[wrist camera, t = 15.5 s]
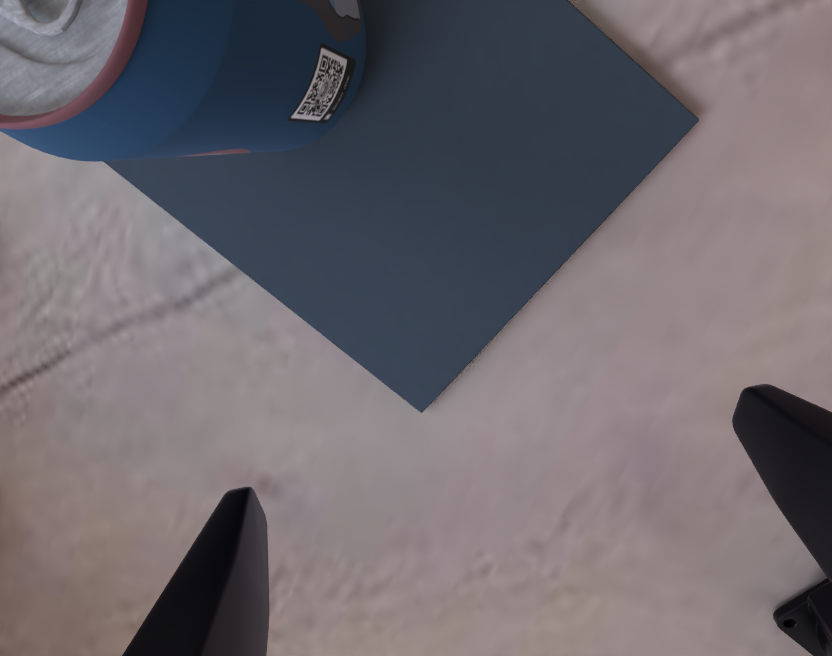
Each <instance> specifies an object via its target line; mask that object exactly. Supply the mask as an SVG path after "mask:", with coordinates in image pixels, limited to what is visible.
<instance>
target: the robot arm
mask: <svg viewBox="0 0 832 656" xmlns="http://www.w3.org/2000/svg"><path fill="white" fill-rule="evenodd" d="M732 423H733V428H734V431H735V433H736V435H737V436H738V438H739V440H740V442H741V443H742V445H743V447H744V449H745V450H746V452H747V454H748V456H749V457H750V459H751V461H752V463H753V465H754V466H755V468H756V470H757V472H758V473H759V475H760V477H761V479H762V480H763V482H764V484H765V486H766V487H767V489H768V491H769V493H770V494H771V496H772V498H773V499H774V501H775V503H776V504H777V506H778V507H779V509H780V510H781V512H782V513H783V515H784V516H785V518H786V519H787V520H788V522H789V523H790V525H791V526H792V527H793V529H794V530H795V532H796V533H797V535H798V536H799V537H800V539H801V540H802V542H803V543H804V544H805V546H806V547H807V549H808V550H809V551H810V553H811V554H812V556H813V557H814V559H815V560H816V561H817V563H818V564H819V566H820V567H821V568H822V570H823V571H824V573H825V574H826V576H827V577H828V579H826V580H825V581H823V582H821V583H820V584H818V585H816V586H815V587H813V588H811V589H810V590H808V591H807V592H805V593H803V594H802V595H800V596H798V597H797V598H795V599H793V600H792V601H790V602H788V603H787V604H785V605H783V606H782V607H780V608H778V609H777V610H776V611H775V612H774V614H773V618H774V620H775V622H776V624H777V625H778V627H779V628H780V629H781V630H782V631H783V632H785V633H786V634H787V635H788V636H790V637H791V638H792V639H793V640H795V641H796V642H797V643H798V644H799V645H801V646H802V647H803V648H804V649H806V650H807V651H808V652H809V653H811V654H812V655H813V656H832V412H830V411H828V410H826V409H823V408H821V407H819V406H817V405H815V404H812V403H810V402H808V401H806V400H803V399H801V398H799V397H797V396H795V395H792V394H790V393H788V392H786V391H783V390H781V389H779V388H777V387H775V386H772V385H769V384H761V385H756V386H751V387H747V388H745V389H744V390H743V391H742V392H741V395H740V398H739V401H738V403H737V406H736V409H735V412H734V415H733V418H732ZM786 619H788V620H786ZM268 629H269V576H268V540H267V521H266V517H265V514H264V511H263V509H262V507H261V505H260V502H259V500H258V498H257V496H256V494H255V492H254V490H253V489H252V488H251V487H243V488H238V489H233V490H230V491H228V492H227V493H226V494H225V495H224V496H223V498H222V499H221V501H220V502H219V504H218V506H217V507H216V509H215V510H214V512H213V513H212V515H211V517H210V518H209V520H208V521H207V523H206V524H205V526H204V528H203V529H202V531H201V532H200V534H199V535H198V537H197V539H196V540H195V542H194V543H193V545H192V547H191V548H190V550H189V551H188V553H187V554H186V556H185V558H184V559H183V561H182V562H181V564H180V565H179V567H178V569H177V570H176V572H175V573H174V575H173V576H172V578H171V580H170V581H169V583H168V584H167V586H166V587H165V589H164V591H163V592H162V594H161V595H160V597H159V599H158V600H157V602H156V603H155V605H154V606H153V608H152V610H151V611H150V613H149V614H148V616H147V617H146V619H145V621H144V622H143V624H142V625H141V627H140V628H139V630H138V632H137V633H136V635H135V636H134V638H133V640H132V641H131V643H130V644H129V646H128V647H127V649H126V651H125V652H124V654H123V655H122V656H266V652H267V641H268Z"/></svg>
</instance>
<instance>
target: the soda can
mask: <svg viewBox="0 0 832 656" xmlns="http://www.w3.org/2000/svg"><path fill="white" fill-rule="evenodd" d="M365 57H366V29H365V21H364V16H363V11H362V7H361V3H360V0H0V131H1V132H3V133H5V134H7V135H9V136H10V137H12V138H14V139H16V140H18V141H20V142H22V143H24V144H26V145H28V146H30V147H32V148H35V149H37V150H40V151H43V152H45V153H48V154H52V155H55V156H58V157H63V158H67V159H72V160H80V161H113V160H131V159H149V158H167V157H185V156H203V155H221V154H239V153H257V152H275V151H287V150H292V149H296V148H299V147H302V146H305V145H307V144H310V143H312V142H313V141H315V140H317V139H319V138H320V137H322V136H323V135H324V134H326V133H327V132H328V131H330V130H331V129H332V128H333V127H334V126H335V125H336V124H337V123H338V121H339V120H340V119H341V118H342V117H343V115H344V114H345V113H346V111H347V110H348V108H349V106H350V105H351V103H352V101H353V99H354V97H355V95H356V93H357V90H358V87H359V85H360V82H361V78H362V74H363V70H364V65H365Z"/></svg>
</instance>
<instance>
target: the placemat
mask: <svg viewBox="0 0 832 656" xmlns="http://www.w3.org/2000/svg"><path fill="white" fill-rule="evenodd" d="M360 3H361V7H362V11H363V16H364V21H365V29H366V57H365V65H364V70H363V74H362V78H361V82H360V85H359V87H358V90H357V93H356V95H355V97H354V99H353V101H352V103H351V105H350V106H349V108H348V110H347V111H346V113H345V114H344V115H343V117H342V118H341V119H340V120H339V121H338V123H337V124H336V125H335V126H334V127H333V128H332V129H331V130H330V131H328V132H327V133H326V134H324V135H323V136H322V137H320V138H319V139H317V140H315V141H313V142H312V143H310V144H307V145H305V146H302V147H299V148H296V149H292V150H287V151H275V152H257V153H239V154H221V155H203V156H185V157H167V158H149V159H131V160H113V161H103V162H105V163H106V164H107V165H108V166H110V167H111V168H112V169H113V170H115V171H116V172H117V173H118V174H120V175H121V176H122V177H124V178H125V179H126V180H127V181H129V182H130V183H131V184H132V185H134V186H135V187H136V188H137V189H139V190H140V191H141V192H143V193H144V194H145V195H146V196H148V197H149V198H150V199H151V200H153V201H154V202H155V203H156V204H158V205H159V206H160V207H162V208H163V209H164V210H165V211H167V212H168V213H169V214H170V215H172V216H173V217H174V218H175V219H177V220H178V221H179V222H180V223H182V224H183V225H184V226H186V227H187V228H188V229H189V230H191V231H192V232H193V233H194V234H196V235H197V236H198V237H199V238H201V239H202V240H203V241H205V242H206V243H207V244H208V245H210V246H211V247H212V248H213V249H215V250H216V251H217V252H218V253H220V254H221V255H222V256H224V257H225V258H226V259H227V260H229V261H230V262H231V263H232V264H234V265H235V266H236V267H237V268H239V269H240V270H241V271H242V272H244V273H245V274H246V275H248V276H249V277H250V278H251V279H253V280H254V281H255V282H256V283H258V284H259V285H260V286H261V287H263V288H264V289H265V290H267V291H268V292H269V293H270V294H272V295H273V296H274V297H275V298H277V299H278V300H279V301H280V302H282V303H283V304H284V305H286V306H287V307H288V308H289V309H291V310H292V311H293V312H294V313H296V314H297V315H298V316H299V317H301V318H302V319H303V320H304V321H306V322H307V323H308V324H310V325H311V326H312V327H313V328H315V329H316V330H317V331H318V332H320V333H321V334H322V335H323V336H325V337H326V338H327V339H329V340H330V341H331V342H332V343H334V344H335V345H336V346H337V347H339V348H340V349H341V350H342V351H344V352H345V353H346V354H348V355H349V356H350V357H351V358H353V359H354V360H355V361H356V362H358V363H359V364H360V365H361V366H363V367H364V368H365V369H366V370H368V371H369V372H370V373H372V374H373V375H374V376H375V377H377V378H378V379H379V380H380V381H382V382H383V383H384V384H385V385H387V386H388V387H389V388H391V389H392V390H393V391H394V392H396V393H397V394H398V395H399V396H401V397H402V398H403V399H404V400H406V401H407V402H408V403H410V404H411V405H412V406H413V407H415V408H416V409H417V410H418V411H420V412H421V413H422V412H423V411H424V410H425V409H426V408H427V407H428V406H429V405H430V404H431V403H432V402H433V401H434V400H435V398H436V397H437V396H438V395H439V394H440V393H441V392H442V391H443V390H444V389H445V388H446V387H447V386H448V385H449V384H450V383H451V382H452V381H453V379H454V378H455V377H456V376H457V375H458V374H459V373H460V372H461V371H462V370H463V369H464V368H465V367H466V366H467V365H468V364H469V363H470V362H471V360H472V359H473V358H474V357H475V356H476V355H477V354H478V353H479V352H480V351H481V350H482V349H483V348H484V347H485V346H486V345H487V344H488V343H489V341H490V340H491V339H492V338H493V337H494V336H495V335H496V334H497V333H498V332H499V331H500V330H501V329H502V328H503V327H504V326H505V325H506V324H507V322H508V321H509V320H510V319H511V318H512V317H513V316H514V315H515V314H516V313H517V312H518V311H519V310H520V309H521V308H522V307H523V306H524V305H525V303H526V302H527V301H528V300H529V299H530V298H531V297H532V296H533V295H534V294H535V293H536V292H537V291H538V290H539V289H540V288H541V287H542V286H543V284H544V283H545V282H546V281H547V280H548V279H549V278H550V277H551V276H552V275H553V274H554V273H555V272H556V271H557V270H558V269H559V268H560V267H561V266H562V264H563V263H564V262H565V261H566V260H567V259H568V258H569V257H570V256H571V255H572V254H573V253H574V252H575V251H576V250H577V249H578V248H579V247H580V245H581V244H582V243H583V242H584V241H585V240H586V239H587V238H588V237H589V236H590V235H591V234H592V233H593V232H594V231H595V230H596V229H597V228H598V226H599V225H600V224H601V223H602V222H603V221H604V220H605V219H606V218H607V217H608V216H609V215H610V214H611V213H612V212H613V211H614V210H615V209H616V207H617V206H618V205H619V204H620V203H621V202H622V201H623V200H624V199H625V198H626V197H627V196H628V195H629V194H630V193H631V192H632V191H633V190H634V188H635V187H636V186H637V185H638V184H639V183H640V182H641V181H642V180H643V179H644V178H645V177H646V176H647V175H648V174H649V173H650V172H651V171H652V169H653V168H654V167H655V166H656V165H657V164H658V163H659V162H660V161H661V160H662V159H663V158H664V157H665V156H666V155H667V154H668V153H669V152H670V150H671V149H672V148H673V147H674V146H675V145H676V144H677V143H678V142H679V141H680V140H681V139H682V138H683V137H684V136H685V135H686V134H687V133H688V131H689V130H690V129H691V128H692V127H693V126H694V125H695V124H696V123H697V122H698V121H699V119H698V118H697V117H696V116H695V115H693V114H692V113H691V112H690V111H689V110H688V109H687V108H686V107H685V106H683V105H682V104H681V103H680V102H679V101H678V100H677V99H676V98H675V97H674V96H672V95H671V94H670V93H669V92H668V91H667V90H666V89H665V88H664V87H662V86H661V85H660V84H659V83H658V82H657V81H656V80H655V79H654V78H653V77H651V76H650V75H649V74H648V73H647V72H646V71H645V70H644V69H643V68H642V67H640V66H639V65H638V64H637V63H636V62H635V61H634V60H633V59H632V58H630V57H629V56H628V55H627V54H626V53H625V52H624V51H623V50H622V49H621V48H619V47H618V46H617V45H616V44H615V43H614V42H613V41H612V40H611V39H610V38H608V37H607V36H606V35H605V34H604V33H603V32H602V31H601V30H600V29H598V28H597V27H596V26H595V25H594V24H593V23H592V22H591V21H590V20H589V19H587V18H586V17H585V16H584V15H583V14H582V13H581V12H580V11H579V10H578V9H576V8H575V7H574V6H573V5H572V4H571V3H570V2H569V1H568V0H360Z"/></svg>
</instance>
